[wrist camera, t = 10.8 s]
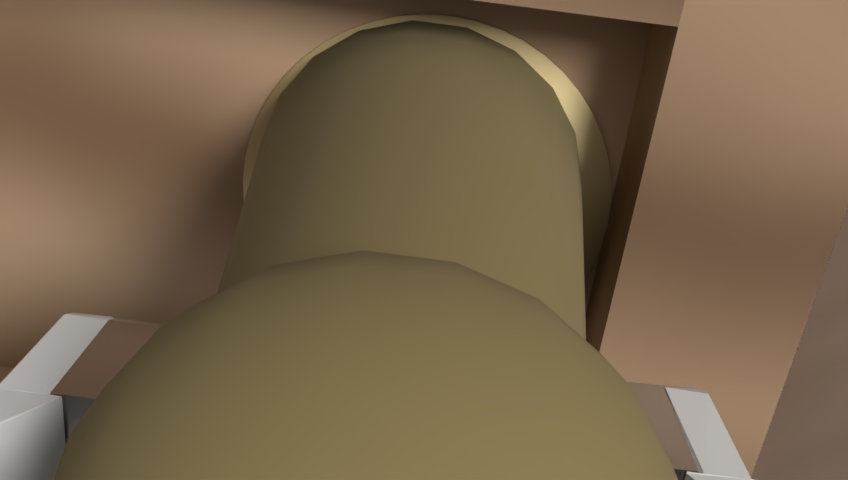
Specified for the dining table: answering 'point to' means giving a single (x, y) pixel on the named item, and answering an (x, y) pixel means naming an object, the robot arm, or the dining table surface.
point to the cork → (389, 294)
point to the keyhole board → (551, 58)
